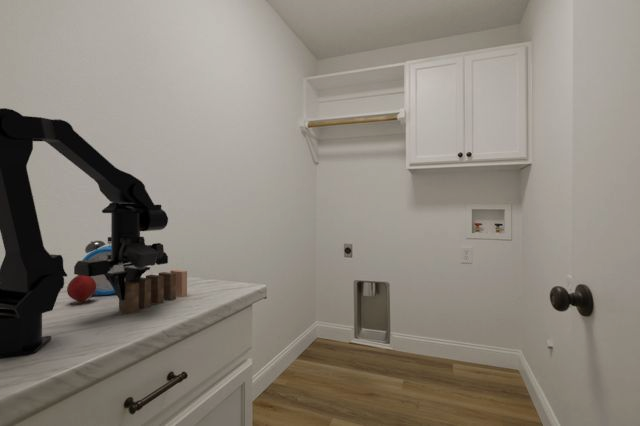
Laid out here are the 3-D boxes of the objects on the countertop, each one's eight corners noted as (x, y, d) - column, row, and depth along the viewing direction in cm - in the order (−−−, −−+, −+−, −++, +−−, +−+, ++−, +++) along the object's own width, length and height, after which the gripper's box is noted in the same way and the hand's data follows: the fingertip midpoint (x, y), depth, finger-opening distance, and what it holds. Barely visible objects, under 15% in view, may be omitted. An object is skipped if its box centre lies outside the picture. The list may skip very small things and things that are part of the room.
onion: (80, 306, 75) (80, 273, 75) (60, 305, 76) (61, 272, 76) (101, 300, 80) (101, 269, 80) (83, 298, 82) (83, 268, 82)
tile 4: (170, 300, 80) (170, 274, 80) (158, 298, 82) (158, 273, 82) (175, 298, 82) (175, 273, 82) (163, 296, 84) (163, 272, 84)
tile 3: (157, 304, 77) (158, 277, 77) (145, 302, 79) (145, 275, 79) (163, 302, 79) (163, 276, 78) (151, 300, 80) (151, 274, 80)
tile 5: (182, 296, 84) (182, 272, 84) (170, 294, 86) (170, 270, 86) (186, 295, 85) (187, 271, 85) (175, 293, 87) (175, 269, 87)
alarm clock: (77, 298, 82) (77, 242, 82) (85, 292, 88) (86, 239, 88) (133, 294, 86) (133, 240, 86) (138, 288, 92) (138, 238, 92)
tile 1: (131, 314, 70) (131, 284, 70) (118, 311, 72) (119, 282, 72) (138, 311, 71) (138, 282, 71) (125, 309, 73) (125, 280, 73)
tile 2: (144, 308, 74) (145, 279, 74) (131, 305, 76) (132, 278, 76) (150, 306, 75) (151, 278, 75) (137, 304, 77) (138, 277, 77)
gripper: (105, 237, 60) (105, 316, 60) (183, 231, 77) (183, 293, 77) (72, 234, 65) (72, 308, 65) (153, 230, 82) (153, 288, 82)
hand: (125, 299), depth 72 cm, fingers closed on tile 1, 2 cm apart
